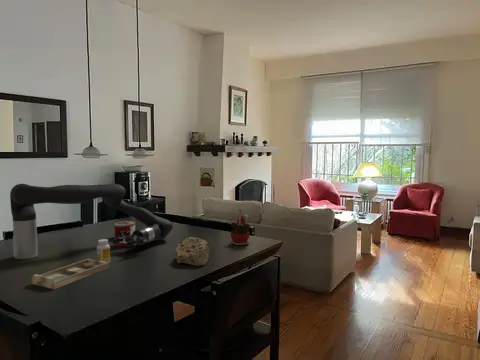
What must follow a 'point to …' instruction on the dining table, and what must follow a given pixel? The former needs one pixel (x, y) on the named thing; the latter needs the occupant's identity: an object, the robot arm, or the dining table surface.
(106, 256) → the supplement bottle
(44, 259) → the dining table surface
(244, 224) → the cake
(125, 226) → the canned food
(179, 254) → the rock
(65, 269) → the wooden tray
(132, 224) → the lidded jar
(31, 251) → the robot arm
